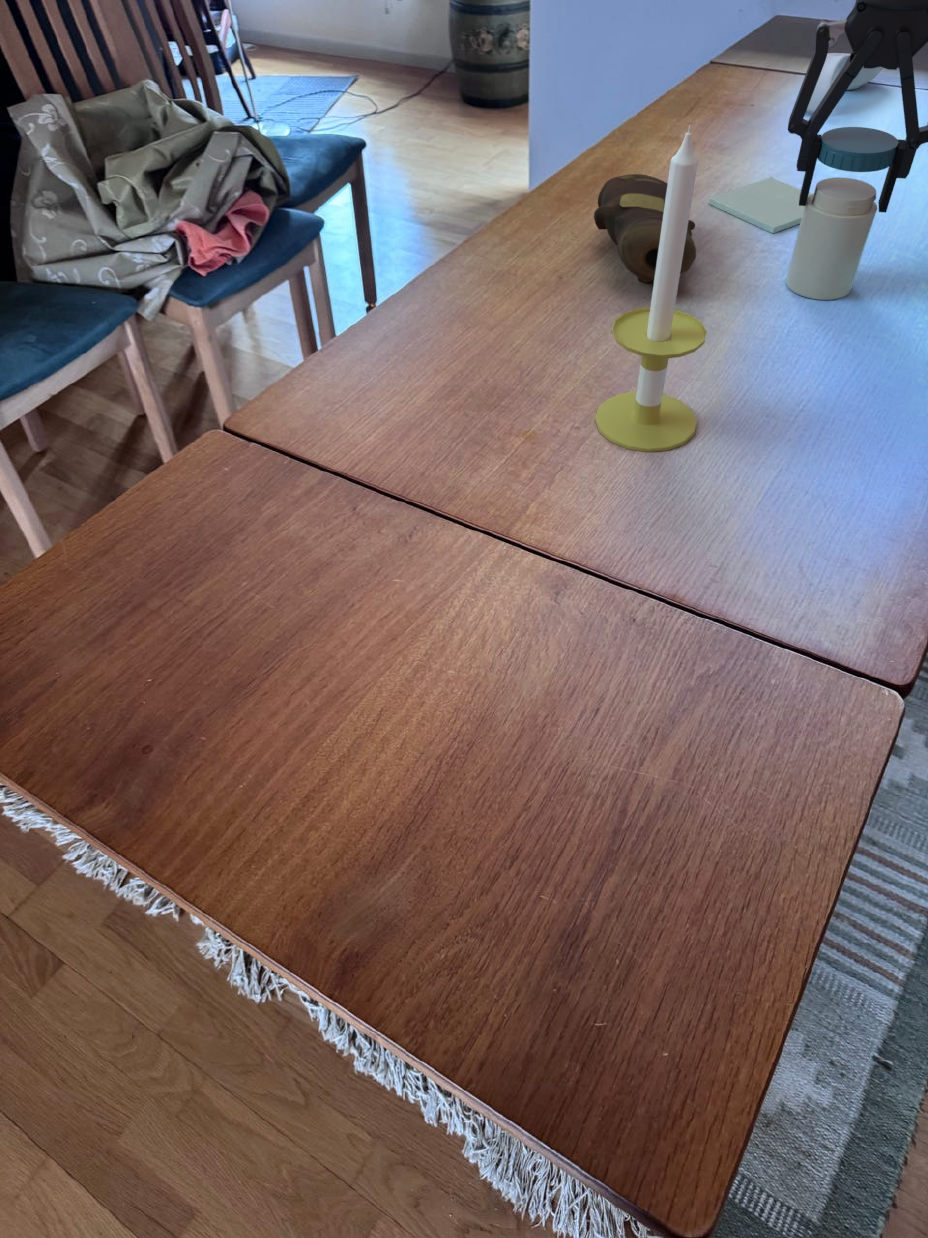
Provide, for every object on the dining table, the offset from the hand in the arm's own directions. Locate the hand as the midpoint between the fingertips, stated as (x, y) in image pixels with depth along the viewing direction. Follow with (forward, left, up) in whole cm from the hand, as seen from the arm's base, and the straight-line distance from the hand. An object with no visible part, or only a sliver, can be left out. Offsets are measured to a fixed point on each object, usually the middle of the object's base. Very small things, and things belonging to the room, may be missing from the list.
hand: (842, 203), depth 98 cm
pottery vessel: (+12, +18, -10) cm, 24 cm away
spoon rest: (+62, -36, -10) cm, 72 cm away
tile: (+22, -5, -9) cm, 25 cm away
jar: (0, 0, -9) cm, 9 cm away
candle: (-21, +30, -10) cm, 38 cm away
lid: (0, 0, +6) cm, 6 cm away
